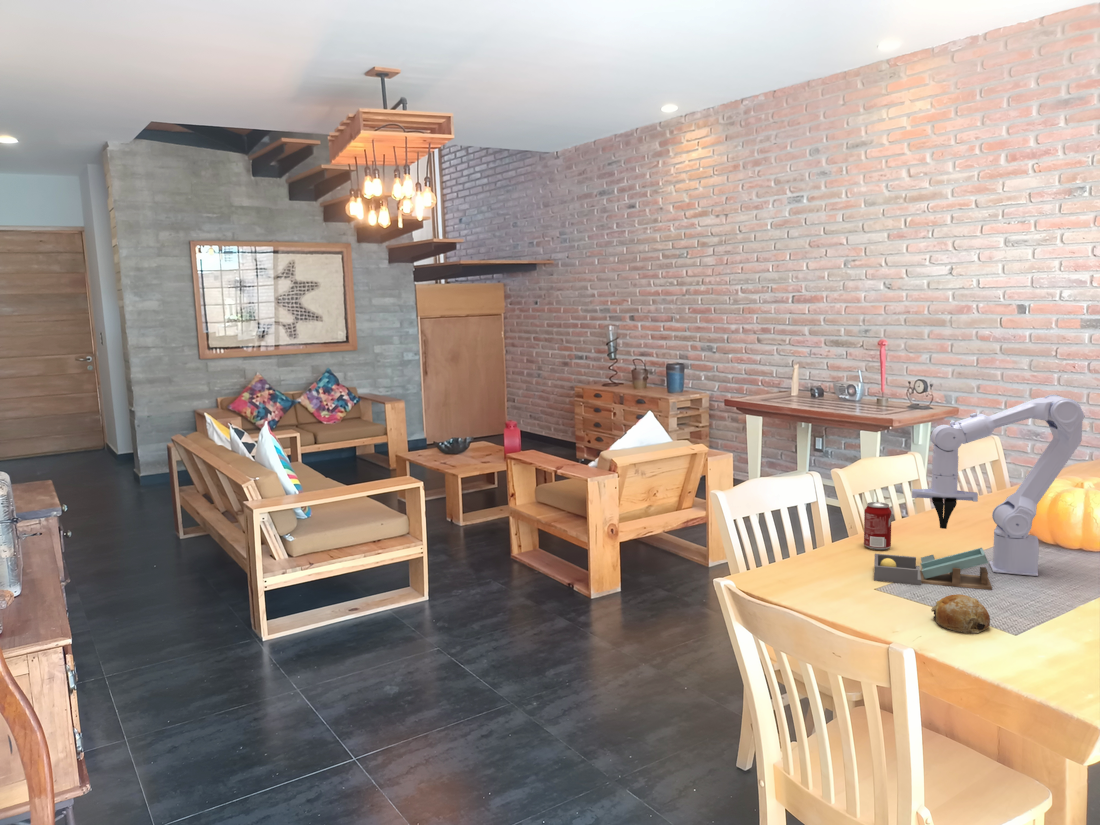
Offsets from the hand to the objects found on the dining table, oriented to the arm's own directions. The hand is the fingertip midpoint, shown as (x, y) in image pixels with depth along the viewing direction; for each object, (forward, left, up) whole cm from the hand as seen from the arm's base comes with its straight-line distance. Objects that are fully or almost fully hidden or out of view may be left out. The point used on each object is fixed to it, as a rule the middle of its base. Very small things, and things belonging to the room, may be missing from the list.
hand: (943, 527), depth 195 cm
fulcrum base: (-2, +11, -10) cm, 15 cm away
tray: (+10, +11, -10) cm, 18 cm away
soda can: (+15, -12, -10) cm, 22 cm away
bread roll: (-1, +39, -10) cm, 40 cm away
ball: (+12, +11, -8) cm, 18 cm away
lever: (-2, +7, -7) cm, 10 cm away
